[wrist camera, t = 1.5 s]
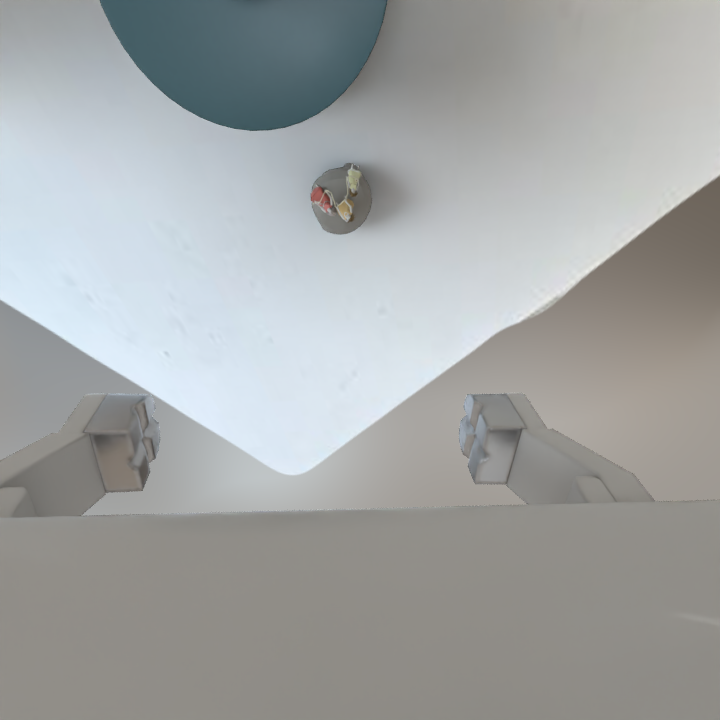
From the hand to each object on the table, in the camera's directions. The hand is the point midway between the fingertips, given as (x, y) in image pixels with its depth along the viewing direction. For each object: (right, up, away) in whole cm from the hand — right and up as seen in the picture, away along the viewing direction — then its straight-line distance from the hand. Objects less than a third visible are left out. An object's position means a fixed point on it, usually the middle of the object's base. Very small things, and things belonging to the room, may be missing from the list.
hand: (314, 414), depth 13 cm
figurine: (0, +14, +25) cm, 29 cm away
